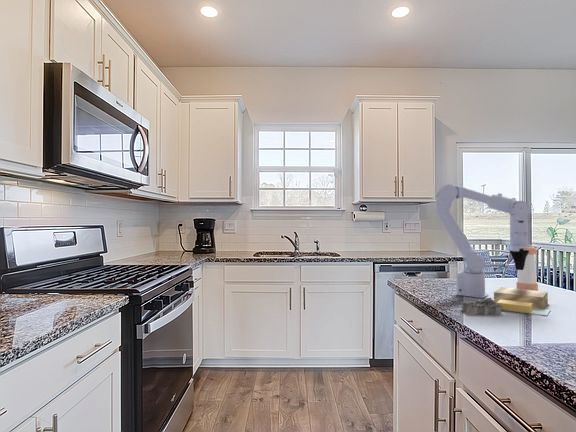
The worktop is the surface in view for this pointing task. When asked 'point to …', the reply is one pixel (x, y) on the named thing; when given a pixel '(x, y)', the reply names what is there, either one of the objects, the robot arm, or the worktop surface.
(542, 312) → the mat
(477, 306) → the egg carton
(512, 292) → the tan flat block
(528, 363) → the worktop surface
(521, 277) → the salt shaker
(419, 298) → the worktop surface
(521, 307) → the yellow rectangular block
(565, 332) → the worktop surface
